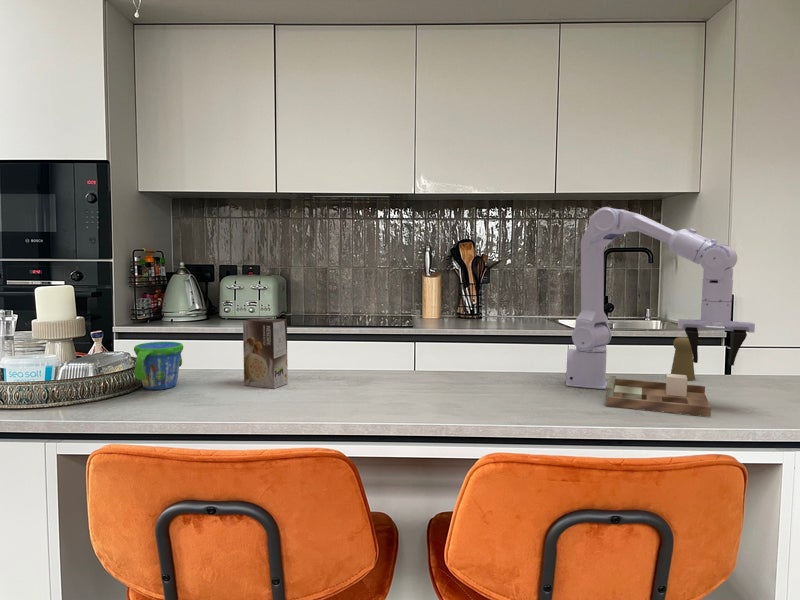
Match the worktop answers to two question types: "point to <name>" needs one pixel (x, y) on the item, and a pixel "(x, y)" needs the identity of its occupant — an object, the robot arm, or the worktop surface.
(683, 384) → the cream block
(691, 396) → the trap deck
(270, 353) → the coffee box
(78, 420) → the worktop surface
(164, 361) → the snack cup
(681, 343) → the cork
